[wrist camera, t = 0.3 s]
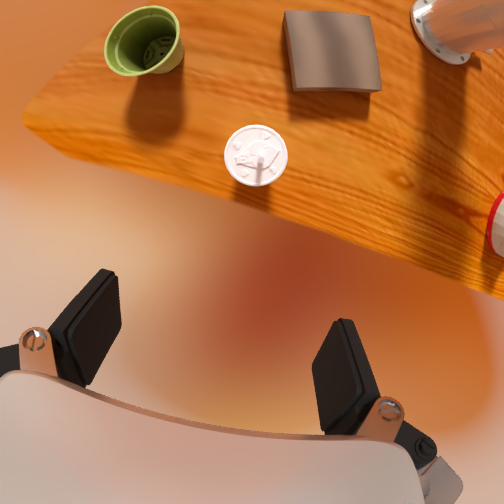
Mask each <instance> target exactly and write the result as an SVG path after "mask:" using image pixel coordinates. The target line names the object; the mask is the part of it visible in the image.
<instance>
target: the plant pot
mask: <svg viewBox="0 0 504 504" xmlns="http://www.w3.org/2000/svg"><path fill="white" fill-rule="evenodd" d="M163 39H170V41H162V40H163ZM148 51H150V53H149V56H148V59H147V57H146V56H147V52H148ZM161 53H164V55H161ZM104 55H105V60H106V62H107V64H108V66H109V67H110V68H111V69H112V70H113V71H114V72H116V73H117V74H120V75H123V76H139V75H143V74H146V73H154V74H163V73H167V72H169V71H171V70H172V69H174V68H175V67H176V66H177V65H179V63H180V62H181V60H182V59H183V56H184V46H183V43H182V41H181V39H180V25H179V22H178V19H177V18H176V16H175V15H174V14H173V13H172V12H171V11H170V10H168V9H167V8H164V7H161V6H145V7H141V8H138V9H136V10H133V11H131V12H130V13H128V14H126V15H125V16H124V17H122V18H121V19H120V20H119V21H118V22H117V23H116V24H115V25H114V27H113V28H112V29H111V31H110V33H109V34H108V37H107V39H106V42H105V48H104Z"/></svg>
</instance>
